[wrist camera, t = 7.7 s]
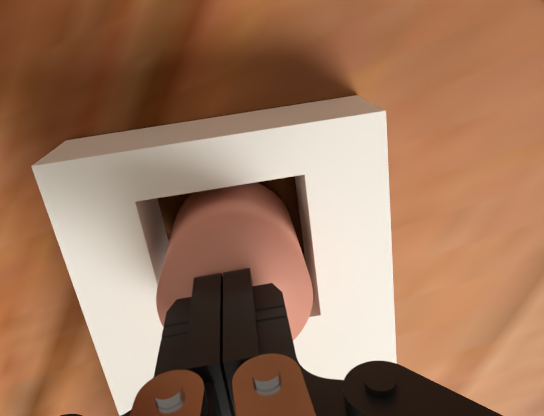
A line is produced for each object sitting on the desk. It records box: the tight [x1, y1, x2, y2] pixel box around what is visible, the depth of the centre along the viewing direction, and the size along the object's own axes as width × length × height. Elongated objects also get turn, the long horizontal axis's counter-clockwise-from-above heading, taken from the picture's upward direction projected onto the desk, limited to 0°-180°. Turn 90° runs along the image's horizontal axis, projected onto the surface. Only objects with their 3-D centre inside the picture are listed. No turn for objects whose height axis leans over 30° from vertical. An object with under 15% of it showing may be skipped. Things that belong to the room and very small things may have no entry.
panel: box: [31, 95, 397, 416], centre depth 19 cm, size 10×24×3 cm, turn 8°
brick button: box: [156, 182, 313, 340], centre depth 14 cm, size 4×4×4 cm
